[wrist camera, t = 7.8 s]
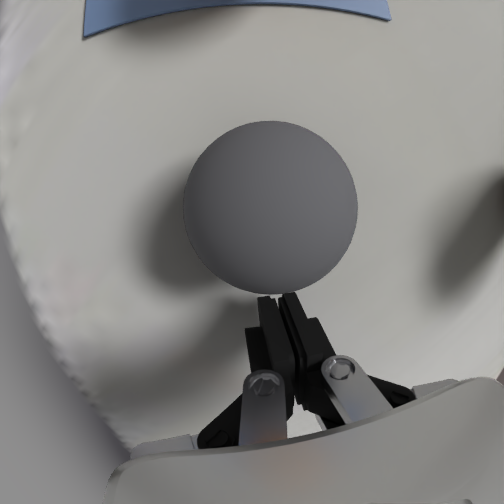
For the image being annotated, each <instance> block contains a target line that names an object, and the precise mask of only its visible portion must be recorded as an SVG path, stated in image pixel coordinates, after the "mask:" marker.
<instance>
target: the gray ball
mask: <svg viewBox="0 0 504 504" xmlns="http://www.w3.org/2000/svg"><path fill="white" fill-rule="evenodd" d="M357 212H358V202H357V194H356V189H355V185H354V182H353V178H352V176H351V174H350V171H349V169H348V167H347V166H346V164H345V162H344V161H343V159H342V158H341V156H340V155H339V154H338V153H337V151H336V150H335V149H334V148H333V147H332V146H331V145H330V144H329V143H328V142H326V141H325V140H324V139H323V138H322V137H320V136H319V135H317V134H315V133H314V132H312V131H310V130H308V129H306V128H303V127H301V126H298V125H295V124H291V123H287V122H280V121H260V122H254V123H249V124H245V125H242V126H239V127H237V128H234V129H232V130H230V131H228V132H226V133H225V134H223V135H222V136H220V137H219V138H217V139H216V140H215V141H214V142H213V143H212V144H211V145H209V146H208V147H207V148H206V150H205V151H204V152H203V153H202V154H201V155H200V157H199V158H198V160H197V161H196V163H195V165H194V166H193V169H192V171H191V173H190V175H189V178H188V181H187V184H186V188H185V193H184V201H183V213H184V221H185V226H186V230H187V234H188V237H189V239H190V242H191V244H192V246H193V248H194V249H195V251H196V253H197V255H198V256H199V258H200V259H201V260H202V262H203V263H204V264H205V265H206V266H207V267H208V268H209V269H210V270H211V271H212V272H213V273H214V274H215V275H217V276H218V277H219V278H221V279H222V280H224V281H225V282H227V283H229V284H231V285H232V286H234V287H237V288H239V289H242V290H245V291H249V292H253V293H258V294H269V295H270V294H283V293H289V292H293V291H296V290H300V289H302V288H305V287H307V286H309V285H311V284H313V283H315V282H317V281H318V280H320V279H321V278H323V277H324V276H325V275H326V274H328V273H329V272H330V271H331V270H332V269H333V268H334V267H335V266H336V265H337V264H338V262H339V261H340V260H341V258H342V257H343V255H344V254H345V252H346V251H347V249H348V247H349V245H350V243H351V240H352V237H353V234H354V231H355V228H356V223H357Z"/></svg>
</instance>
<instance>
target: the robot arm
mask: <svg viewBox="0 0 504 504" xmlns="http://www.w3.org/2000/svg"><path fill="white" fill-rule="evenodd" d="M257 300H258V311H259V321H260V326H259V327H252V328H245V334H246V341H247V348H248V355H249V362H250V368H251V374H250V375H248V376H247V377H246V379H245V381H244V384H243V393H242V394H241V395H240V396H239V397H238V398H237V399H236V400H235V401H234V402H233V403H232V404H231V405H230V406H228V407H227V408H226V409H225V410H224V411H223V412H222V413H221V414H220V415H219V416H218V417H216V418H215V419H214V420H213V421H212V422H211V423H210V424H208V425H207V426H206V427H205V428H204V429H203V430H202V431H201V432H200V433H199V434H197V435H193V436H190V434H187V435H183V436H178V437H173V438H168V439H163V440H158V441H152V442H146V443H142V444H139V445H137V446H136V447H134V448H133V450H132V452H131V457H130V459H131V460H129V461H127V462H125V463H123V464H122V465H120V466H118V467H117V468H116V469H115V470H114V472H113V473H112V474H111V476H110V478H109V481H108V484H107V486H106V490H105V494H104V499H103V504H504V386H503V385H502V384H501V383H500V382H498V381H497V380H495V379H493V378H489V377H477V378H470V379H465V380H462V381H457V380H454V379H447V380H443V381H438V382H433V383H428V384H423V385H418V386H413V387H412V389H408V388H406V387H404V386H401V385H397V384H394V383H391V382H388V381H384V380H381V379H378V378H375V377H372V376H369V375H367V374H366V373H365V372H364V371H363V369H362V368H361V367H360V366H359V364H358V363H357V362H356V361H355V360H354V359H353V358H350V357H348V356H344V355H336V354H335V352H334V350H333V348H332V346H331V344H330V342H329V340H328V338H327V336H326V334H325V332H324V330H323V328H322V326H321V324H320V322H319V320H318V318H316V317H314V318H309V319H307V317H306V314H305V312H304V310H303V308H302V306H301V304H300V301H299V299H298V297H297V295H296V293H295V292H291V293H284V294H282V297H279V298H278V306H279V309H278V306H277V303H276V300H275V298H273V299H271V298H270V296H264V297H257ZM294 395H295V398H296V402H297V404H298V405H300V404H302V406H303V410H304V411H305V410H308V411H310V412H312V413H314V414H315V416H316V420H317V421H318V423H319V425H320V427H321V429H322V430H323V431H320V432H316V433H312V434H308V435H303V436H298V437H293V438H288V439H287V420H288V419H289V418H290V417H291V416H292V414H293V406H294Z"/></svg>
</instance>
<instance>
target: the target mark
mask: <svg viewBox="0 0 504 504" xmlns="http://www.w3.org/2000/svg"><path fill="white" fill-rule="evenodd" d="M240 4H285V5H301V6H312V7H321V8H328V9H335V10H342V11H347V12H353V13H358V14H363V15H367V16H372V17H376V18H380V19H384V20H388V21H390V20H391V15H390V11H389V7H388V3H387V0H86V10H85V22H84V37H87V36H90V35H93V34H95V33H98V32H101V31H104V30H107V29H110V28H113V27H116V26H119V25H122V24H126V23H129V22H133V21H136V20H140V19H144V18H148V17H152V16H157V15H161V14H166V13H171V12H177V11H183V10H189V9H196V8H204V7H213V6H224V5H240Z"/></svg>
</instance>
